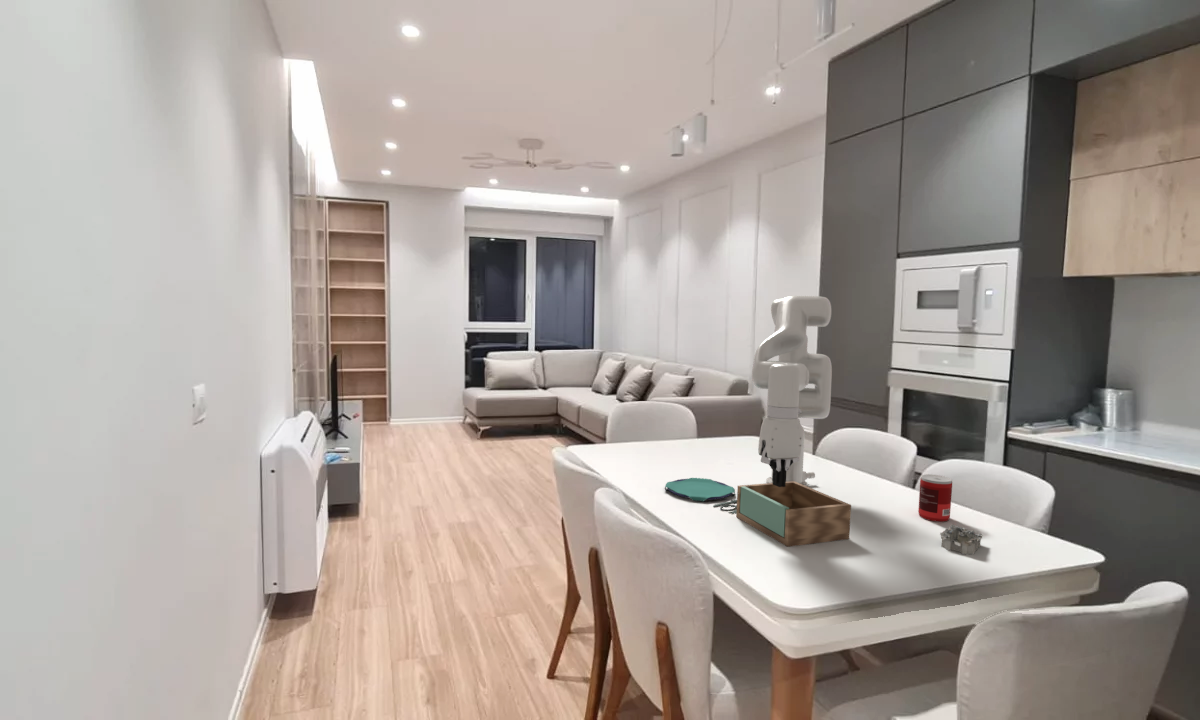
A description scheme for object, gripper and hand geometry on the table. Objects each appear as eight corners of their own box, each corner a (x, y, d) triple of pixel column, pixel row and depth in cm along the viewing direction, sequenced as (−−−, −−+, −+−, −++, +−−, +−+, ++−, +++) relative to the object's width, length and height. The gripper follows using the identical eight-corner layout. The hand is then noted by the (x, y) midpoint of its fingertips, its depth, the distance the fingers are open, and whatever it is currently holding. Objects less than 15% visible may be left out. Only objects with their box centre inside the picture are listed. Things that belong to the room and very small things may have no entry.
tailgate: (743, 512, 164) (744, 486, 163) (787, 536, 146) (789, 507, 145) (739, 512, 163) (740, 486, 163) (783, 537, 146) (784, 508, 145)
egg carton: (971, 557, 141) (973, 540, 141) (936, 548, 146) (937, 531, 146) (985, 546, 148) (986, 529, 148) (950, 537, 154) (952, 521, 154)
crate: (792, 511, 171) (794, 481, 170) (849, 539, 150) (851, 504, 150) (736, 516, 165) (737, 485, 164) (787, 546, 144) (789, 511, 144)
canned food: (948, 515, 171) (951, 476, 170) (951, 524, 163) (953, 483, 163) (917, 511, 174) (919, 472, 173) (918, 519, 167) (921, 479, 166)
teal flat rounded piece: (701, 481, 201) (701, 474, 200) (773, 507, 176) (773, 499, 176) (653, 490, 190) (653, 482, 190) (723, 520, 165) (723, 511, 165)
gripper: (797, 410, 160) (794, 480, 161) (748, 411, 155) (744, 483, 156) (817, 414, 153) (813, 487, 154) (765, 416, 148) (762, 491, 149)
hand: (778, 485), depth 155 cm, fingers closed
